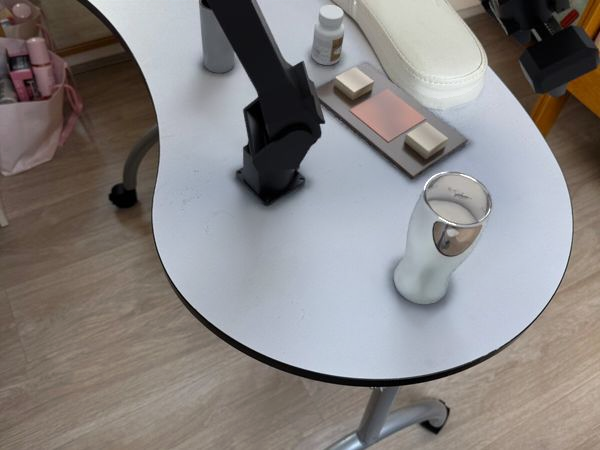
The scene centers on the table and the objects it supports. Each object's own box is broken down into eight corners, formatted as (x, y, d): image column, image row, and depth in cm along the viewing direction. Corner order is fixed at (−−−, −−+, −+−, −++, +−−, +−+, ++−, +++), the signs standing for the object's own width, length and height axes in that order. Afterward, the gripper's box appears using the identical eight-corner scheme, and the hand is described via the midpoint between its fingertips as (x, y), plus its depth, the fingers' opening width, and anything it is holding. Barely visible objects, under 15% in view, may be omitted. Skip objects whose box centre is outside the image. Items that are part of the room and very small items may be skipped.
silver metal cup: (390, 251, 68) (421, 164, 56) (450, 260, 68) (493, 175, 56) (388, 303, 64) (420, 221, 52) (451, 313, 64) (498, 233, 52)
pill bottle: (337, 68, 87) (344, 23, 81) (308, 63, 88) (313, 17, 81) (342, 50, 90) (349, 5, 84) (314, 45, 90) (319, 0, 84)
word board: (412, 179, 75) (415, 168, 74) (310, 94, 84) (311, 82, 82) (466, 142, 80) (471, 131, 78) (365, 65, 88) (367, 53, 87)
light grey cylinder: (198, 67, 85) (192, 4, 77) (212, 50, 88) (208, -13, 80) (226, 76, 84) (223, 14, 76) (239, 59, 87) (238, -4, 79)
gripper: (658, -32, 47) (659, 88, 59) (557, -137, 57) (576, -17, 69) (521, 38, 50) (549, 139, 62) (450, -73, 61) (486, 31, 73)
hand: (541, 68), depth 66 cm, fingers open, 9 cm apart
